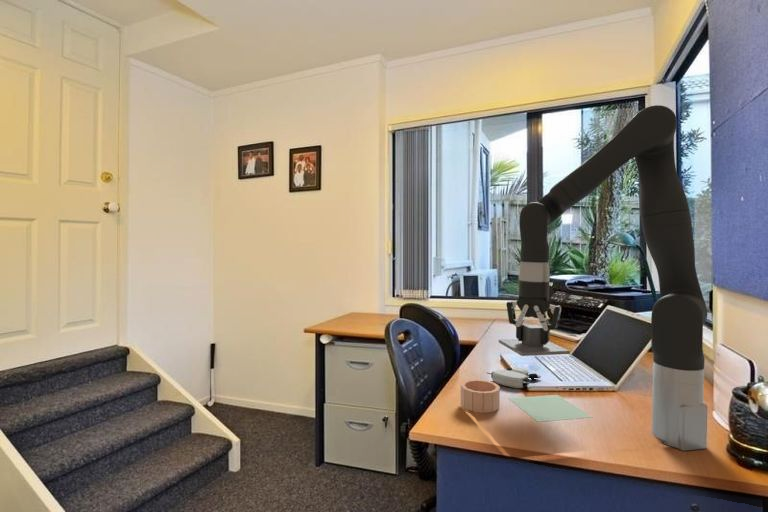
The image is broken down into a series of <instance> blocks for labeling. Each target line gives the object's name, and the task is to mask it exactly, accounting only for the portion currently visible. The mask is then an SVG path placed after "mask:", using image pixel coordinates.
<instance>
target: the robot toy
mask: <svg viewBox="0 0 768 512" xmlns="http://www.w3.org/2000/svg"><path fill="white" fill-rule="evenodd" d="M486 374H487V375H490V376H491V380H492V382H494V383H496V384H497V385H502V386H506V387H510V388H515V389H522V388H523V389H524V388H525V387H526V386H529V385H530V384H531V382H530V379H528V378H531V379H534V378H537V379H541V377H542V375H539V374H537V373H535V372H534V373H529V371H528V369H525V368H522V367H513V368H511V367H507V368H506V369H497V370H494V371H491V373H490V372H486Z"/></svg>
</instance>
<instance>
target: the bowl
mask: <svg viewBox="0 0 768 512" xmlns="http://www.w3.org/2000/svg"><path fill="white" fill-rule="evenodd" d="M500 399H501V387H500V384H498V383H496V382H494V381H489V380H486V379H467V380H465V381H462V382H461V384H460V406H461V409H462V410H463V411H464V412H465V413H466V412H467V413H468V414H471V412H475V413H482V414H484V413H493V412H495V411H498V410H500V406H501V405H500V401H501V400H500Z"/></svg>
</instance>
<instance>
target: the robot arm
mask: <svg viewBox="0 0 768 512" xmlns="http://www.w3.org/2000/svg"><path fill="white" fill-rule="evenodd" d="M677 125H678V120H677V116H676V113H675V112H674V111H673V109H671V108H670V107H668V106H664V105H650V106H648V107H645V108H643V109H641V110H640V111H638V112H637V113H636V114H635V115H634V116H633V117H632V118H631V119H630V120H629V121H628V122H627V123H626V124H625V125H624V126H623V128H621V129H620V131H619V132H617V134H615V136H614V137H612V138H611V139H610V140H609V141H608V142H607V143H606V144H605V145H603V146H602V147H601V148H600V149H599V150H598V151H597V152H595V153H594V154H593V155H592V156H591V157H588V159H587V160H585V161H584V162H583V163H581V164H580V165H579V166H577V167H575V169H573V170H572V171H571V172H569V173H568V174H566V176H564V177H563V178H562V179H560V180H559V181H558V182H557V183H556V184H554V185H553V186H552V187H550V190H549V192H548V193H546V194H545V195H544V196H542V197H541V198H540V199H539V200H538V201H533V202H532V201H531V202H528V203H527V204H525V205H524V206H523V207H522V209H521V210H520V213H519V217H518V218H519V220H518V221H519V223H518V224H519V225H518V226H519V234H520V235H519V236H520V243H521V244H520V264H519V271H518V298H517V300H515V301H513V300H509V301H507V302H506V303H505V304H506V310H507V316H508V323H509V324H510V325H513V326H515V327H516V328H515V337H516V338H515V339H518V341H522V325H524V322H525V321H526V319H527V318H534V319H538V321H539V323H540V324H541V325H540V326H541V327H543V329H544V330H543V331H542V344H543V345H546V344H547V343H548V342H550V338H551V336H550V335H551V334H550V333H551V330H555V329H557V328H558V326H559V321H560V317H561V312H562V306H561V305H555V304H551V302H550V243H549V242H548V226H550V225H551V224H553V223H554V222H555V221H556V220H557V219H558V218H559V217H561V216H562V215H563V214H564V213H565V212H566V211H567V210H569V209H571V208H572V207H574V206H575V205H577V204H578V203H579V202H581V201H582V200H584V199H585V198H586V197H588V196H589V195H590V194H592V193H593V192H594V191H595V190H596V189H598V188H599V187H600V186H601V185H602V184H603V183H605V181H606V180H607V179H608V178H609V177H611V175H613V174H614V173H615V172H616V171H617V170H619V169H620V168H621V167H622V166H623V165H625V164H626V163H628V162H629V161H631V160H632V159H634V160H635V162H636V168H637V172H638V178H639V190H638V191H639V192H638V193H639V196H638V197H639V198H638V199H639V211H640V213H639V214H640V217H641V218H640V221H641V226H642V232H643V237H644V241H645V244H646V246H647V250H648V252H649V254H650V256H651V259H652V261H653V263H654V265H655V269H656V271H657V277H658V285H659V299H657V301H655V303H654V305H653V307H652V311H651V319H650V323H651V324H650V325H651V326H650V328H651V329H650V330H651V331H650V337H651V338H650V339H651V341H650V342H651V344H650V345H651V350H652V354H653V355H652V357H653V358H652V359H653V363H652V364H653V365H652V367H653V368H652V395H651V397H652V400H651V403H652V405H651V434H652V435H653V436H654V437H656V438H657V439H659V440H660V442H661V441H662V442H661V443H662V444H663V445H667V446H668V447H673V448H676V449H679V450H680V451H694V450H702V449H707V447H708V444H707V443H708V442H707V440H708V439H707V437H708V411H709V410H708V408H709V407H708V405H707V404H706V403H704V389H705V388H704V384H705V355H704V351H703V345H704V344H703V342H704V341H703V340H704V339H703V338H704V337H703V335H704V333H703V332H704V325H705V323H706V321H707V319H708V308H707V305H706V304H707V303H706V302H705V297H704V296H703V295H704V294H703V292H702V290H701V285H700V282H699V277H698V275H697V270H696V269H697V268H696V256H695V254H696V253H695V242H694V241H695V240H694V234H693V233H694V232H693V230H694V229H693V224H692V223H693V222H692V217H691V211H690V206H689V202H688V198H687V194H686V193H685V189H684V187H683V185H682V182H681V179H680V177H679V175H678V172H677V168H676V158H675V133H676V132H677V131H676V130H677ZM517 307H518V309H519V310H520V313H519V316H518V317H517V316H516V309H517ZM548 310H550V312H551V314H552V319H551V322H549V319H548V316H547V312H548Z"/></svg>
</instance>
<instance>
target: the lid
mask: <svg viewBox="0 0 768 512" xmlns="http://www.w3.org/2000/svg"><path fill="white" fill-rule="evenodd" d="M543 330H544V329H543V327H542V325H538V324H537V323H536V324H523V325H522V341H518V338H505V339H503V338H502V339H500V338H499V339H498V343H499V344H501V345H503V346H504V347H506V348H507V349H509V350H511V351H512V352H514V353H516V354H518V355H519V356H521V357H525V356H526V357H528V356H531V357H533V356H551V355H552V356H553V355H554V356H555V355H570V353H571V350H569V349H567V348H564V347H563V346H560V345H558V344H556V343H554V342H551V341H549V342H548V343H547V344H546V345H543V344H542V331H543Z"/></svg>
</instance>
